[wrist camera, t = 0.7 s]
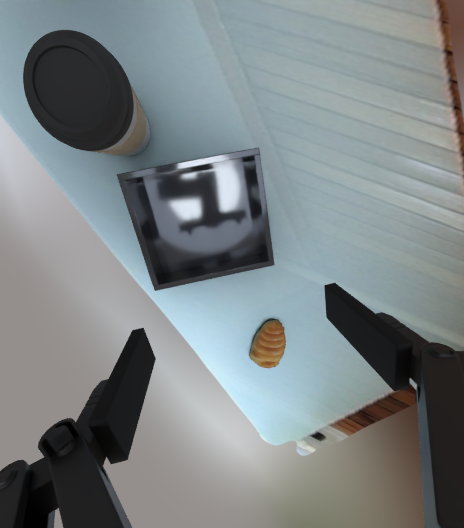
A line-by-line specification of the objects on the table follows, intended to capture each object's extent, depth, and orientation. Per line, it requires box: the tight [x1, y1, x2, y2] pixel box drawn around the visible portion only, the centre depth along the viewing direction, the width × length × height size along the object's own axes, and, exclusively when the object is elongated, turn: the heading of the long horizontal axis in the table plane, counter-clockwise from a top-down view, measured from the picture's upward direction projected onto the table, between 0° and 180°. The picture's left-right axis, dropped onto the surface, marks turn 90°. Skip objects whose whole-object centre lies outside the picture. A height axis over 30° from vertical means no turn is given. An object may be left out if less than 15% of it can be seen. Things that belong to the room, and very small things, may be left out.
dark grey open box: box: [117, 148, 274, 291], centre depth 35 cm, size 17×19×6 cm
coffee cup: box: [23, 30, 150, 156], centre depth 26 cm, size 9×9×15 cm
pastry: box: [249, 320, 286, 368], centre depth 45 cm, size 9×7×4 cm
